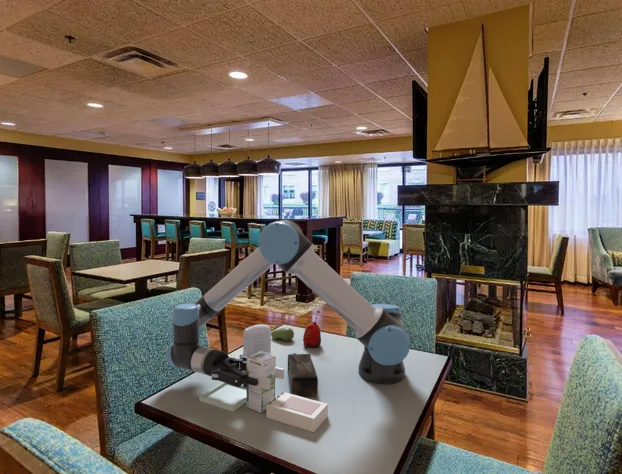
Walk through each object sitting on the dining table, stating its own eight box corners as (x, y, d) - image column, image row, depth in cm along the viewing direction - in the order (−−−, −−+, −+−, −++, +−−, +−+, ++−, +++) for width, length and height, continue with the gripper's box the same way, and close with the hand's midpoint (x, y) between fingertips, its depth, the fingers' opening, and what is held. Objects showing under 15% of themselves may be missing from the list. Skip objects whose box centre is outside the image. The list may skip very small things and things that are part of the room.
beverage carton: (310, 369, 132) (310, 351, 131) (318, 398, 113) (318, 376, 112) (287, 371, 131) (287, 352, 130) (291, 399, 112) (291, 377, 111)
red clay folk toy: (305, 341, 158) (306, 305, 157) (322, 342, 157) (323, 306, 156) (301, 348, 151) (301, 310, 150) (319, 349, 150) (319, 311, 148)
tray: (199, 401, 110) (199, 396, 110) (227, 383, 121) (227, 379, 121) (233, 411, 105) (233, 407, 105) (259, 392, 115) (259, 388, 115)
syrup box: (260, 399, 112) (260, 349, 110) (275, 405, 108) (275, 354, 107) (246, 407, 107) (245, 356, 106) (261, 414, 104) (261, 361, 102)
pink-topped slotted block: (266, 417, 102) (266, 403, 102) (282, 403, 109) (282, 390, 109) (313, 432, 96) (313, 417, 95) (327, 416, 103) (327, 402, 102)
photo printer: (267, 353, 145) (267, 321, 144) (272, 357, 142) (272, 324, 140) (241, 359, 140) (241, 326, 138) (246, 363, 136) (246, 329, 135)
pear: (288, 329, 155) (267, 330, 160) (290, 342, 156) (269, 343, 160) (295, 325, 160) (274, 326, 165) (297, 338, 160) (276, 338, 165)
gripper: (231, 362, 124) (294, 378, 113) (186, 387, 107) (255, 408, 96) (231, 339, 123) (294, 353, 113) (186, 361, 106) (255, 379, 96)
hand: (276, 378), depth 104 cm, fingers closed on syrup box, 6 cm apart
